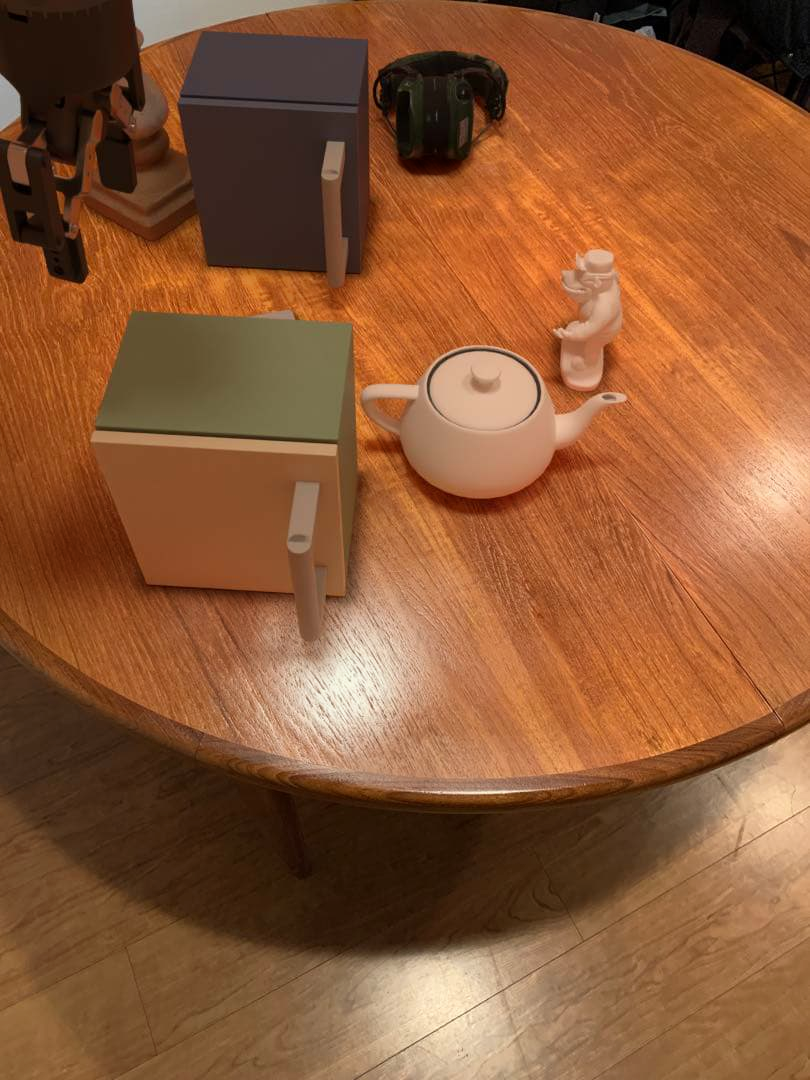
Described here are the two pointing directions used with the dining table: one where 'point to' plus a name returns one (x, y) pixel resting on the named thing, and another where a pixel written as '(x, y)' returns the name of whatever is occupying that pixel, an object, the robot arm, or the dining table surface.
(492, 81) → the headphones
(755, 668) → the dining table surface
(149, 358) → the green-topped cabinet
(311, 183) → the dark cabinet door
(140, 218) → the candle holder
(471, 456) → the teapot
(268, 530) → the peach cabinet door
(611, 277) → the figurine
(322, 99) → the dark purple boxy piece
